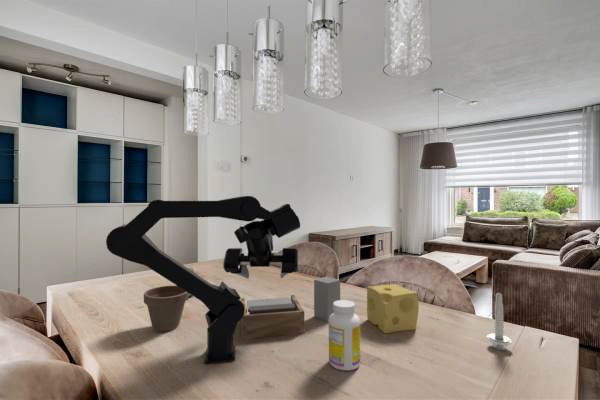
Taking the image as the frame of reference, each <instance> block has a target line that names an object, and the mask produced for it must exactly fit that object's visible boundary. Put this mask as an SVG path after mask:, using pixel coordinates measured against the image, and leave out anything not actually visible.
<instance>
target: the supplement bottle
mask: <svg viewBox="0 0 600 400" xmlns="http://www.w3.org/2000/svg"><path fill="white" fill-rule="evenodd" d="M333 310H334V313H333V314H331V315H330V317H329V321H328V361H329V363H330V365H331V366H332V367H333V368H334V369H336V370H339V371H347V372H348V371H353V370H356V369H357V368H359V367H360V365H361V319H360V317H359V316H358V315H357V314H356V313H355V311H356V303H355V302H353V301H352V300H348V299H340V300H338V301H335V302H333Z"/></svg>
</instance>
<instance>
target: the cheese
mask: <svg viewBox="0 0 600 400" xmlns="http://www.w3.org/2000/svg"><path fill="white" fill-rule="evenodd" d="M419 307H420V306H419V295H418V292H417V291H414V290H410V289H407V288H405V287H403V286H401V285H398V284H396V283H393V284H391V283H390V284H384V285H372V286H371V285H368V286H367V287H366V314H367V315H366V316H367V317H366V318H367V320H368V321H369V322H370V323H371V324H372V325H374V326H377V327H378V329H379V330H380V331H381V332H382V333H384V334H385V335H386V334H390V333H396V332H397V333H398V332H405V331H414V330H417V324H418V317H419Z"/></svg>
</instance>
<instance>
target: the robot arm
mask: <svg viewBox="0 0 600 400" xmlns="http://www.w3.org/2000/svg"><path fill="white" fill-rule="evenodd" d="M171 218H172V219H177V218H179V219H181V218H222V219H229V220H236V221H242V222H248V223H246V224H245V225H243V226H239V228H237V229H236V230H235V231H234V232H233V233H234V236H235V237H236V239H237V241H238V243H239V244H243V243H245V244H246V248H247V249H246V250H247V255H245V252H244V253H243V248H242V247H234V248H233V247H229V248H227V249H226V250H225V253H224V254H225V255H224V259H223V265H222V266H223V269H224V272H226V273H231V274H234V275H238V276H241V277H243V278H246V279H250V272H249V269H248V266H250V268H251V267H255V268H257V267H258V268H260V267H262V268H263V267H264V268H265V267H270V265H271V263H281V265H280V274H279V276H280V279H283V278H284V277H285V276H287V275H289V274H292V273H296V272H298V270H299V249H298V248H296V247H283V248H282V252H273V251H274V242H273V241H274V240H273V239H274V236H276V237H277V238H282V237H284V236H285V235H288V234H290V233H292V232H295V231H298V230H299V229H300V228H301V222H300V219H299V216H298V215H297V214H296V212H295V211H294V209H293V208H292V206H291V204H290V203H285V204H283V205H281V206H279V207H277V208H275V209H273V210H269V209H266V208H265V207H263V206H261V203H260V201H259V200H258V199H257V197H255V196H252V195H240V196H235V197H230V198H224V199H219V200H163V199H154V200H152V201H150V202H149V203H148V205H147V206H146V207H145V208H144V209H143V210H142V211H141V212H139V213H138V214H137V215H136V216H135V217H133V219H131V220H130V221H129V222H128V223H125V224H122V225H119V226H117V227H115V228H113V229H112V230H111V231H109V232H108V234H107V237H106V240H105V244H106V249H107V250H108V252H109V253H111V254H112V255H115V256H116V257H119V258H121V259H124V260H126V261H129V262H131V263H135V264H139V265H142V266H145V267H147V268H149V269H150V270H152V271H154V272H155V273H156V274H158V275H160V276H161V277H162V278H164V279H166V280H167V281H168V282H171V284H174V286H178V287H180V288H181V289H183V290H185V291H186V292H188V293H189V294H191V296H192V297H194V298H195V299H197V300H198V301H201V303H203V304H204V305H205V307H206V308H207V309H208V311H207V312H206V313H205V314H204V316H205V320H206V323H207V330H206V334H207V335H206V338H207V339H206V344H207V345H206V349H205V355H204V360H203V363H204V364H215V363H224V362H234V361H236V345H235V344H234V334H235V331H236V328H237V327H238V326H237V325H238V323H239V322H241V319H242V317H243V315H244V311H245V309H244V305H243V303H242V302H241V295H240V294H239V293H238V291H237V290H236V289H235V288H231V287H230V286H229V285H227V283H225V282H224V281H223V280H221V282H220V284H219V285H215V284H212V283H211V282H209V281H208V280H206V279H205V278H203V277H201V276H200V275H199V274H197V273H196V272H195V271H194V272H192V271H191V270H189V269H188V268H189V267H187V268H186V266H185V265H183V264H182V263H180V262H179V261H177V260H176V259H175V258H173V257H172V256H170V255H168V254H167V253H165V252H164V251H162V250H161V249H160V248H159V247H158V246H157V245H156V244H155V243H154V242H153V241H152V239H150V237H149V236H148V235H147V233H148V232H149V231H150V230H151V229H152V228H153V227H154V226H155V225H156V224H157V223H158V222H159V221H160V220H161V219H171ZM257 219H260V220H257Z"/></svg>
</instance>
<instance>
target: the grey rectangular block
mask: <svg viewBox="0 0 600 400" xmlns="http://www.w3.org/2000/svg"><path fill="white" fill-rule="evenodd" d="M313 285H314V286H313V305H314V306H313V309H314V310H313V316H314V317H315V318H317V319H319V320H322V321H324V322H328V323H329V317H330V315H331V314H333V313H334V310H333V302H335V301H338V300H341V279H337V278H333V277H330V276H324V277H320V278H316V279H313Z"/></svg>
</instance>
